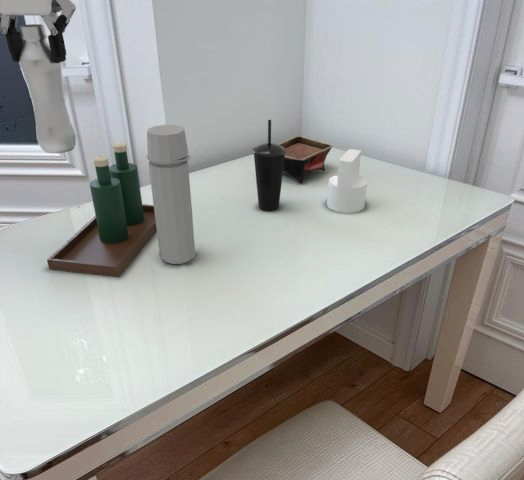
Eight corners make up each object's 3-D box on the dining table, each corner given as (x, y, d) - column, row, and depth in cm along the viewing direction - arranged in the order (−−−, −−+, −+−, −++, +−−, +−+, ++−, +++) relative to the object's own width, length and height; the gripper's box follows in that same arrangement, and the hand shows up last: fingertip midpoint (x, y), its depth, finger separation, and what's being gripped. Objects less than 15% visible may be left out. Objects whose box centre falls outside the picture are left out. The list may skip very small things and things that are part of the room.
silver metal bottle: (47, 146, 103) (18, 23, 91) (83, 146, 103) (58, 23, 91) (35, 157, 98) (2, 28, 86) (72, 157, 98) (45, 28, 85)
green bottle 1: (95, 242, 116) (79, 162, 106) (107, 230, 121) (93, 152, 110) (122, 244, 115) (108, 164, 105) (133, 232, 120) (121, 154, 109)
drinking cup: (291, 208, 131) (294, 121, 119) (264, 216, 128) (265, 126, 116) (272, 198, 136) (273, 113, 124) (246, 205, 133) (245, 118, 121)
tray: (49, 269, 108) (46, 259, 106) (111, 210, 131) (110, 201, 130) (118, 277, 105) (116, 267, 104) (170, 215, 128) (169, 206, 127)
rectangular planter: (335, 178, 153) (339, 140, 148) (296, 186, 141) (299, 145, 136) (294, 171, 161) (296, 134, 156) (254, 177, 149) (255, 138, 144)
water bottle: (188, 268, 108) (177, 137, 93) (152, 263, 110) (135, 133, 95) (206, 248, 115) (197, 123, 100) (171, 243, 117) (158, 120, 102)
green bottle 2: (113, 224, 123) (99, 148, 113) (123, 213, 128) (111, 139, 117) (138, 226, 122) (127, 149, 112) (148, 216, 127) (138, 141, 116)
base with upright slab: (359, 215, 128) (365, 163, 121) (322, 209, 131) (326, 158, 124) (368, 201, 135) (374, 151, 128) (332, 196, 138) (336, 147, 130)
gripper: (76, -76, 82) (98, 58, 93) (-28, -75, 85) (5, 55, 95) (50, -76, 76) (77, 67, 87) (-60, -76, 79) (-21, 63, 90)
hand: (39, 59), depth 91 cm, fingers closed on silver metal bottle, 6 cm apart
